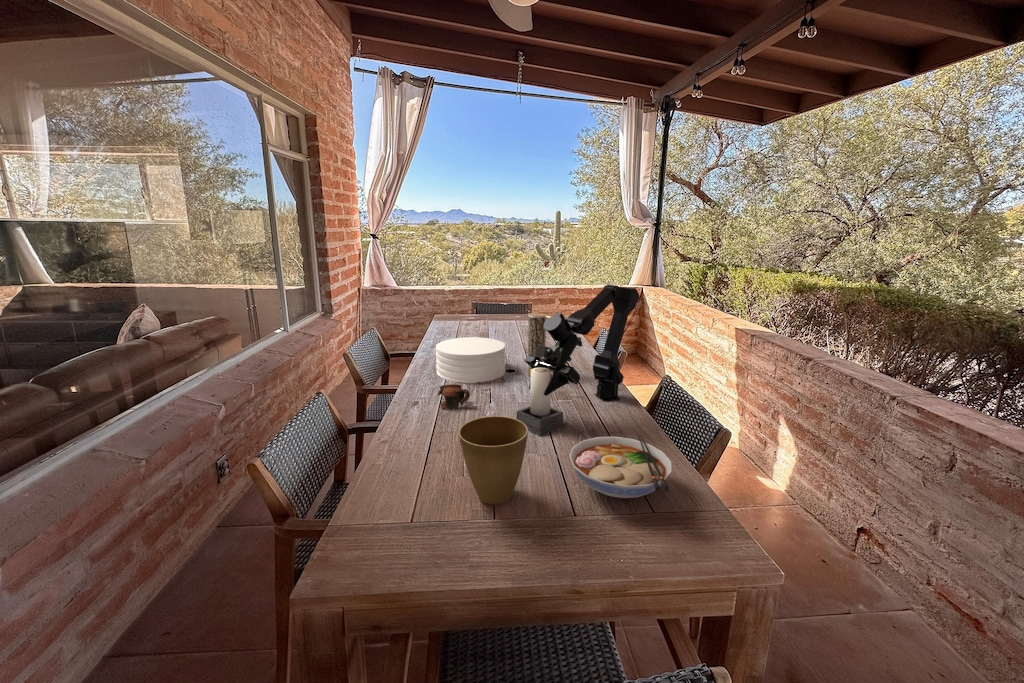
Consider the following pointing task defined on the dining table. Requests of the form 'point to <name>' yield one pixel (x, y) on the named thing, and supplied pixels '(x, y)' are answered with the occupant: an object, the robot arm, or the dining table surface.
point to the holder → (541, 421)
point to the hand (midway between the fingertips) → (537, 392)
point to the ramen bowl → (621, 466)
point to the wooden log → (536, 334)
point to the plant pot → (494, 455)
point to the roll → (539, 391)
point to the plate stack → (470, 359)
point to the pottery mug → (453, 396)
